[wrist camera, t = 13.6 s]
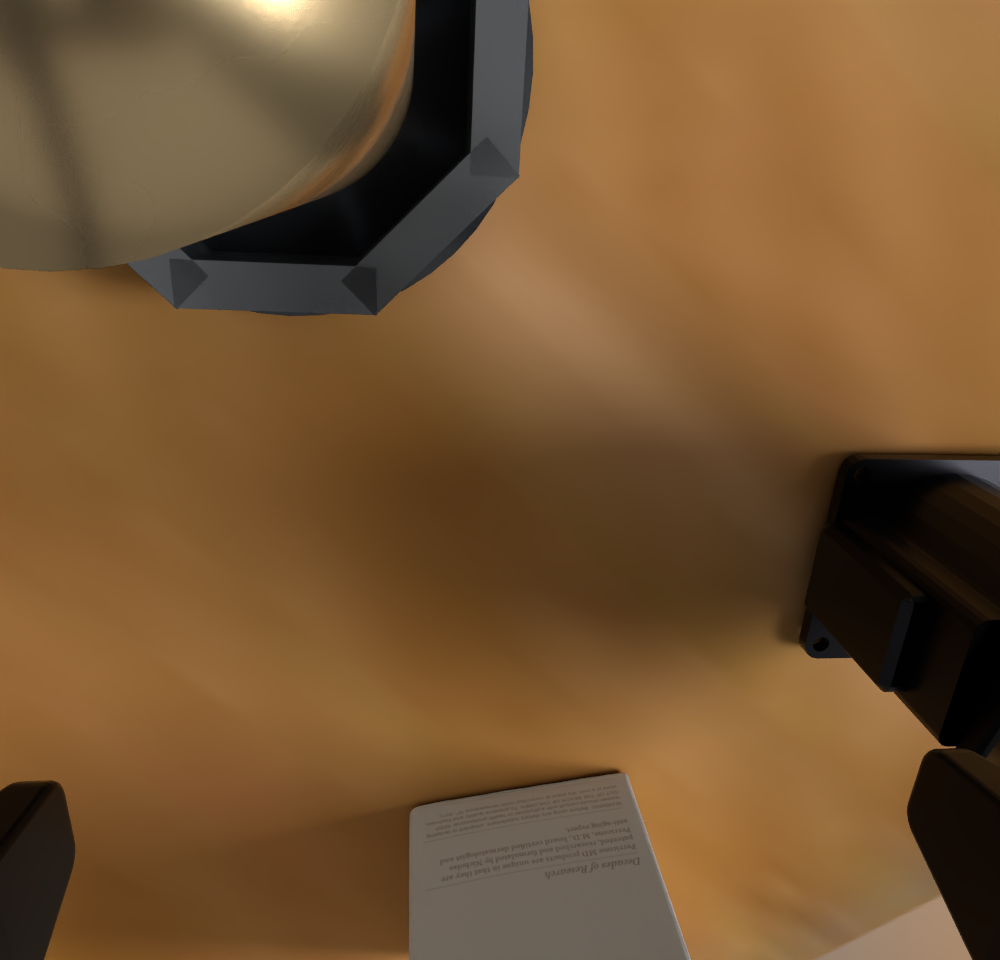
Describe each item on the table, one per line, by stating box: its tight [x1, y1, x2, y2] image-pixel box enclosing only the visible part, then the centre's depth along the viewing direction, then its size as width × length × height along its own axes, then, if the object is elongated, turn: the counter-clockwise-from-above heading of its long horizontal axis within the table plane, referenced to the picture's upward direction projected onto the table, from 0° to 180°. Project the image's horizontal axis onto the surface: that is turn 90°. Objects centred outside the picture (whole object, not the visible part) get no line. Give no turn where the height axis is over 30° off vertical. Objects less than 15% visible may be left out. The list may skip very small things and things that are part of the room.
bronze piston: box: [0, 0, 416, 271], centre depth 10 cm, size 6×6×12 cm
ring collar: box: [127, 0, 533, 316], centre depth 15 cm, size 11×11×2 cm
